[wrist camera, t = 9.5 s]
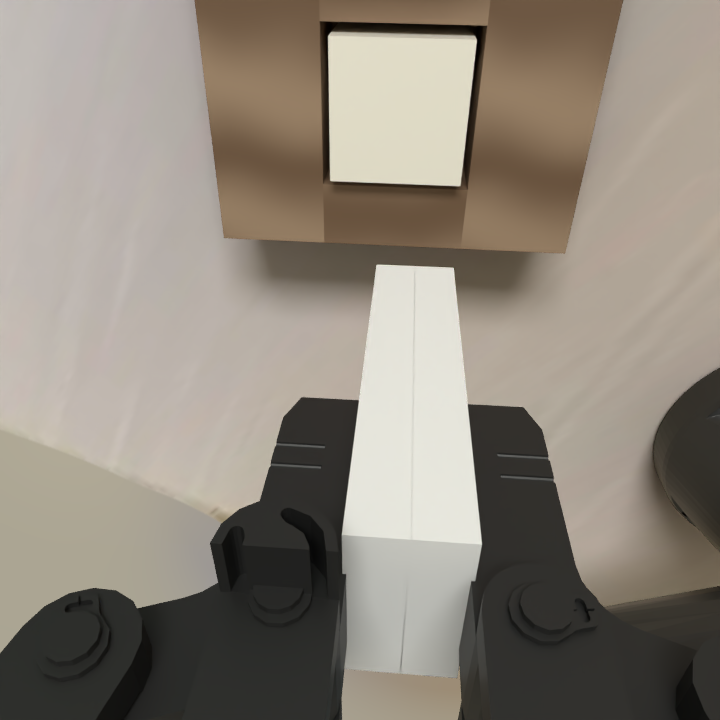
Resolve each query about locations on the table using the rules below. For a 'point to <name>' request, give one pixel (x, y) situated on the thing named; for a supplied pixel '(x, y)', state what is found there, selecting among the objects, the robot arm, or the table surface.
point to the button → (399, 102)
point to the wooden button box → (405, 201)
